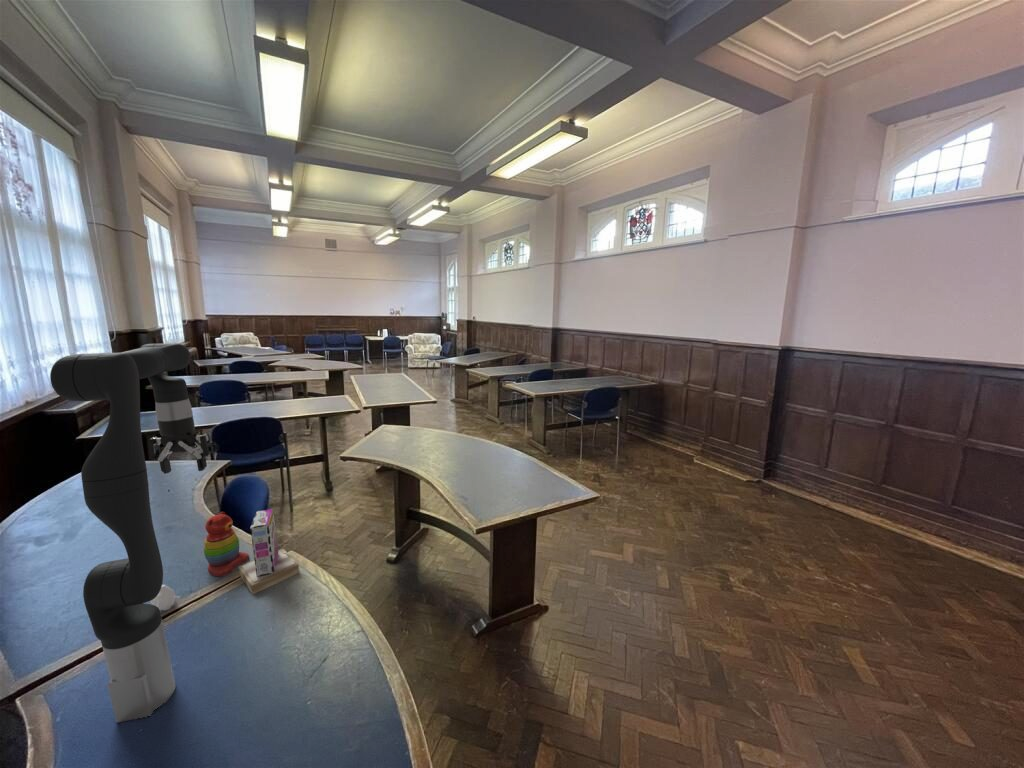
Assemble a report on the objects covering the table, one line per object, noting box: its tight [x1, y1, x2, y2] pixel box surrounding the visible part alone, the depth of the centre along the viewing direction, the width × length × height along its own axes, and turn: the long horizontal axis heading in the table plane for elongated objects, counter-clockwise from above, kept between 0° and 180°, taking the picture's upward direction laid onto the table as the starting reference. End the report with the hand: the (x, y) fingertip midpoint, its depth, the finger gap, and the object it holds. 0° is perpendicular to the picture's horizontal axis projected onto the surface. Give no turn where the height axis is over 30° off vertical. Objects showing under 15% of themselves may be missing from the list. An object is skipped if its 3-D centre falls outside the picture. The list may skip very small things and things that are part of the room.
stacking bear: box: [203, 511, 250, 577], centre depth 130 cm, size 11×10×18 cm
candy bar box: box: [249, 508, 279, 577], centre depth 125 cm, size 11×5×16 cm, turn 24°
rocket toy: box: [149, 583, 182, 611], centre depth 112 cm, size 5×5×8 cm
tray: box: [238, 548, 300, 595], centre depth 127 cm, size 13×13×3 cm
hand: (185, 471), depth 113 cm, fingers open, 8 cm apart
